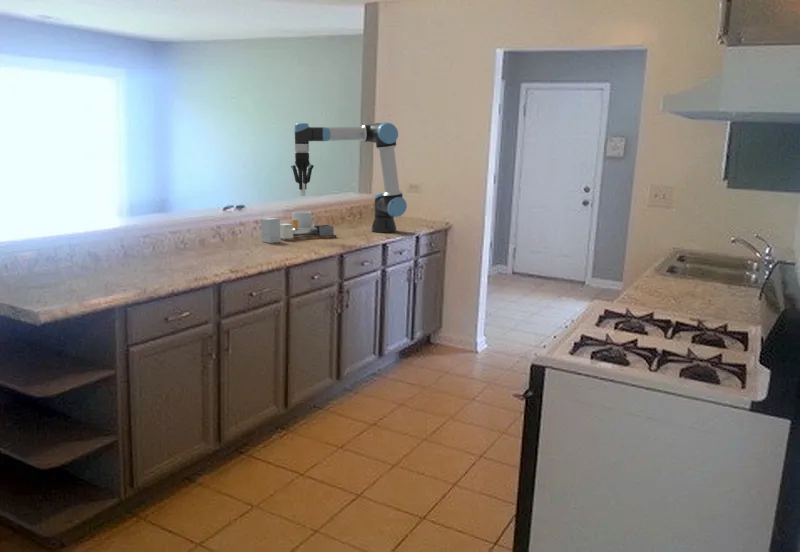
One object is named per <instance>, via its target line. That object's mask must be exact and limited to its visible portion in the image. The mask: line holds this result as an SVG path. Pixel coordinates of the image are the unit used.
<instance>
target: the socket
mask: <svg viewBox="0 0 800 552" xmlns="http://www.w3.org/2000/svg"><path fill="white" fill-rule="evenodd" d="M280 238H283V239H289V238H293V224H291V223H280Z"/></svg>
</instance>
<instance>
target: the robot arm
mask: <svg viewBox="0 0 800 552" xmlns="http://www.w3.org/2000/svg"><path fill="white" fill-rule="evenodd" d="M398 137H399V130H398V128H397V127H396V126H395V125H394V123H392V122H391V123H390V122H385V121H384V122H375V123H372V124H363V125H361V126H335V127H334V126H330V127H327V126H326V127H324V126H318V127H317V126H313V127H311V126H309V123H308V122H307V123H305V122H303V123H302V122H299V123H295V125H294V151H295V153H294V160H295V161H294V164H293V165H292V164H291V165H290V168H291V169H292V172H293V177H294V181H295V183H297V184H298V187H299V190H300V196H301V197H305V196H306V190H307V184H308V183H310V182H311V177H312V171H313V168H314V165H313V164H311V162H310V153H309V152H310V142H331V141H333V142H334V141H362V142H363V143H365V142H366V143H373V144H374V143H375V146H376V149H377V150H378V151H379V158H380V165H381V172H382V173H381V174H382V180H383V181H382V182H383V190H384V191H383V192H381V193H380V192H379V193H376V194H375V195H374V199H373V200H374V219H373V222H372V225H371V232H373V231H374V233H382V232H386V233H396V232H397V225H396V221H395V218H398V217H401V216H403V215H404V214H405V213H406V211H407V207H408V206H407V205H408V204H407V201H406V200H405V198H404V196H403V192H402V191H401V190H400V186H399V185H400V183H399V177H398V170H397V162H396V161H397V160H396V152H395V148H396V147H397V139H398ZM394 217H395V218H394Z"/></svg>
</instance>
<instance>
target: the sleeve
mask: <svg viewBox="0 0 800 552" xmlns="http://www.w3.org/2000/svg"><path fill="white" fill-rule="evenodd" d="M313 226H314V225H313ZM314 227H316V228H317V231H318V232H317V235H319V236H328V235H335V234H334V231H335V230H334V227H335V226H334V225H331V224H322V225H321V224H320V225H316V226H314Z"/></svg>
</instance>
